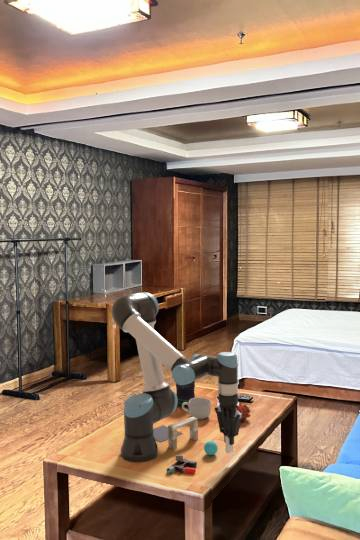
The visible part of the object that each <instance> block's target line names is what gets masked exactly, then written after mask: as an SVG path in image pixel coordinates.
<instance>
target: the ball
mask: <svg viewBox="0 0 360 540" xmlns="http://www.w3.org/2000/svg"><path fill="white" fill-rule="evenodd" d="M218 449H219V448H218V445H217V443H216V442H215V441H213V440H208V441H206V442H205V444H204V447H203V451H204V453H205V454H206V455H208V456H213V455H214V456H215V455H216V453H218Z"/></svg>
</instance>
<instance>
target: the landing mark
mask: <svg viewBox="0 0 360 540" xmlns="http://www.w3.org/2000/svg"><path fill="white" fill-rule="evenodd" d="M182 434H183V432H181V431H179V430H177V437H178V436H179V435H182ZM153 435H154V438H155V441H156V442H160V443H162V442H164V441H168V426H166V425H159V426H157V427H153Z"/></svg>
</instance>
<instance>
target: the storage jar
mask: <svg viewBox="0 0 360 540" xmlns="http://www.w3.org/2000/svg"><path fill="white" fill-rule="evenodd" d="M195 384H196V380H195V381H193V382H192V383H189V384H186V385H178V384H177V383H175V389H176V392H175V393H176V395H177V399H178V404H177V408H180V409H182V404H183V403H184V402H188V403H189V400H190V399H192V398H196V394H195V387H196V385H195ZM184 408H185V409H189V407H188V405H187V404H185V405H184Z"/></svg>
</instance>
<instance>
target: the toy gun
mask: <svg viewBox="0 0 360 540" xmlns="http://www.w3.org/2000/svg"><path fill="white" fill-rule="evenodd" d="M197 465H198V464H197V461H193V460H188V459H187V458H184V456H183V454H182V455H181V454H176V455H175V462H174V463H172V464H171V466H169V467H167V468H166V473H167V474H169V473H170V475H172V474H174V473H175V472H177V473H180V474H183V473H185V474H188V475H189V474H190V475H193V474H196V467H198V466H197Z"/></svg>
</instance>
